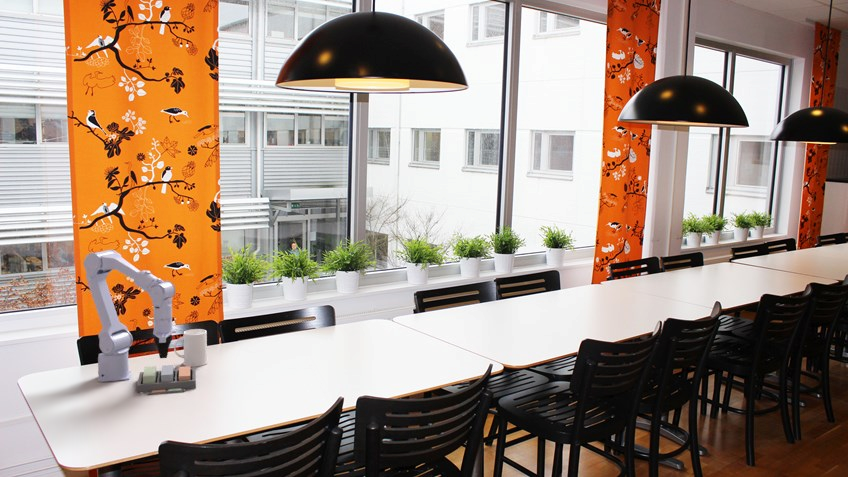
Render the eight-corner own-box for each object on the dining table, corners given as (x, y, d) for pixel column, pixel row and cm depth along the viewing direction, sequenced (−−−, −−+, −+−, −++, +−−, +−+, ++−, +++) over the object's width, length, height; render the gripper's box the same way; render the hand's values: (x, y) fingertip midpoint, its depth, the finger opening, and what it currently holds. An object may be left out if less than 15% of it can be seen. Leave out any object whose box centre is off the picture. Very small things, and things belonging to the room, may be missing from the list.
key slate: (161, 385, 219) (160, 375, 218) (162, 375, 228) (162, 365, 228) (172, 384, 220) (172, 374, 219) (173, 374, 229) (173, 364, 229)
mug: (176, 369, 239) (175, 337, 237) (172, 362, 246) (171, 331, 244) (209, 365, 244) (209, 333, 243) (205, 358, 252) (204, 327, 250)
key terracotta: (178, 386, 221) (178, 376, 220) (179, 376, 230) (179, 366, 229) (190, 385, 222) (190, 375, 221) (190, 375, 231) (190, 366, 231)
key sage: (143, 386, 217) (142, 376, 216) (145, 376, 226) (144, 366, 226) (154, 385, 218) (154, 375, 218) (156, 375, 227) (156, 366, 227)
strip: (148, 394, 214) (148, 392, 214) (148, 392, 216) (148, 390, 216) (184, 391, 217) (184, 389, 217) (184, 389, 219) (184, 387, 219)
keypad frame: (137, 393, 215) (136, 385, 215) (140, 379, 227) (139, 372, 227) (195, 388, 221) (195, 380, 221) (195, 375, 233) (195, 368, 233)
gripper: (175, 323, 215) (175, 363, 217) (175, 312, 229) (176, 350, 231) (152, 324, 213) (152, 365, 215) (153, 313, 226) (154, 351, 228)
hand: (163, 357), depth 223 cm, fingers closed
